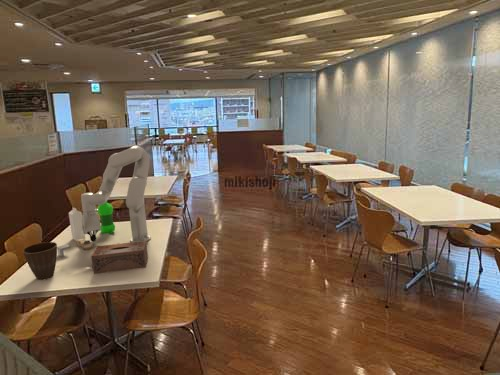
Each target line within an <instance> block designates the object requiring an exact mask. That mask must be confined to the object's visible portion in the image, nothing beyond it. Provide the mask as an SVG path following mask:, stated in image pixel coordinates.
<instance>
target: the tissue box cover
mask: <svg viewBox="0 0 500 375" xmlns="http://www.w3.org/2000/svg"><path fill="white" fill-rule="evenodd" d="M147 245H148V244H147V241H140V242H123V243H114V244H106V245H104V244H103V245H98V246H96V247H95V249H94V251H93V252H92V254H91V256H90V257H91V264H92V265H91V266H92V271H93V275H97V274H104V273H113V272H120V271H121V272H122V271H128V270H136V269H137V270H138V269H144V268H145V269H146V268H147V263H148V258H149V255H148V246H147Z"/></svg>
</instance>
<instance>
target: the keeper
mask: <svg viewBox="0 0 500 375" xmlns="http://www.w3.org/2000/svg"><path fill="white" fill-rule="evenodd" d="M67 249H71V246H70V245H69V244H68V243H67V244H64V245H60V246H57V256H59V257H60V258H64V257H65V254H64V250H67Z"/></svg>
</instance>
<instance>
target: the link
mask: <svg viewBox="0 0 500 375" xmlns="http://www.w3.org/2000/svg"><path fill="white" fill-rule="evenodd" d="M76 244H77V245H78V246H79V247H81V248H82V250H83V251H88V250H92V249H93V242H92V241H91V240H86V238H84V239H83V238H81V239H77V241H76Z"/></svg>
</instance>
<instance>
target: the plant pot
mask: <svg viewBox="0 0 500 375" xmlns="http://www.w3.org/2000/svg"><path fill="white" fill-rule="evenodd" d="M57 247H58V244H57V243H56V242H55V241H47V242H45V241H43V242H39V243H35V244H32V245H29V246H27V247H25V248H23V250H22V252H23V255H24V257H25V261H26V263H27V266H28V267H29V269H30V271H31V272H32V273H33V275H34V277H35V278H36V279H37V280H39V281H45V280H48V278H49V279H51V278H53V276H54V275H55V271H56V266H57V260H58V259H57V258H58V249H57ZM44 279H45V280H44Z"/></svg>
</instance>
